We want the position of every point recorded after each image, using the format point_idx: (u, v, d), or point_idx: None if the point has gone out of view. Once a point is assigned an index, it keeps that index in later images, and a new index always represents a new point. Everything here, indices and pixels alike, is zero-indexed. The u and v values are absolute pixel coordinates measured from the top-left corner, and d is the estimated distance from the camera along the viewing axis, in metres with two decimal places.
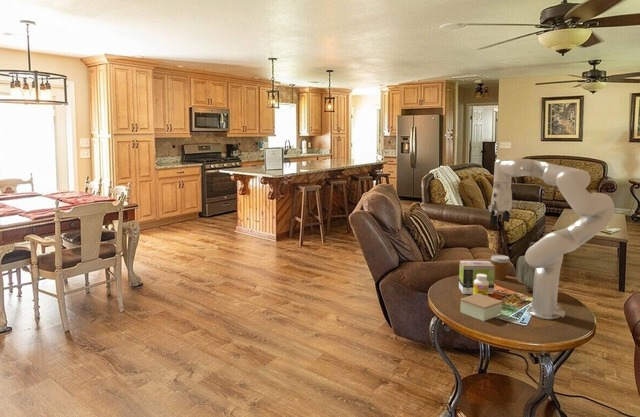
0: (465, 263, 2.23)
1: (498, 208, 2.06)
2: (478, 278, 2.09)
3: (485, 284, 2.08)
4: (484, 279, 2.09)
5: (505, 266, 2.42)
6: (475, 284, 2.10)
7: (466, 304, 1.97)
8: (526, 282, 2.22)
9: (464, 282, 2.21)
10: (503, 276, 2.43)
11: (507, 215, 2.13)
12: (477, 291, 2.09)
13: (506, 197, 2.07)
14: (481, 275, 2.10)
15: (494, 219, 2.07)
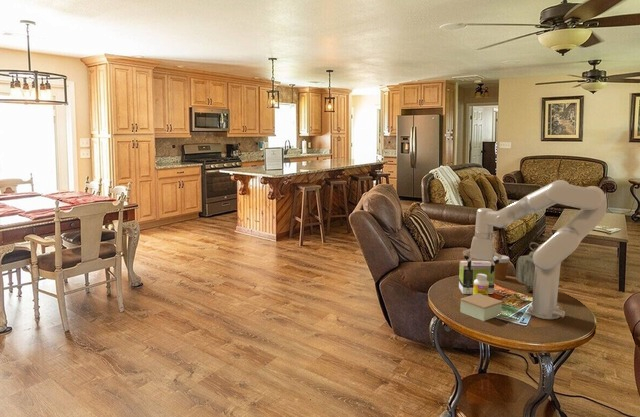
0: (465, 263, 2.23)
1: None
2: (478, 278, 2.09)
3: (485, 284, 2.08)
4: (484, 279, 2.09)
5: (505, 266, 2.42)
6: (475, 284, 2.10)
7: (466, 304, 1.97)
8: (526, 282, 2.22)
9: (464, 282, 2.21)
10: (503, 276, 2.43)
11: None
12: (477, 291, 2.09)
13: None
14: (481, 275, 2.10)
15: None
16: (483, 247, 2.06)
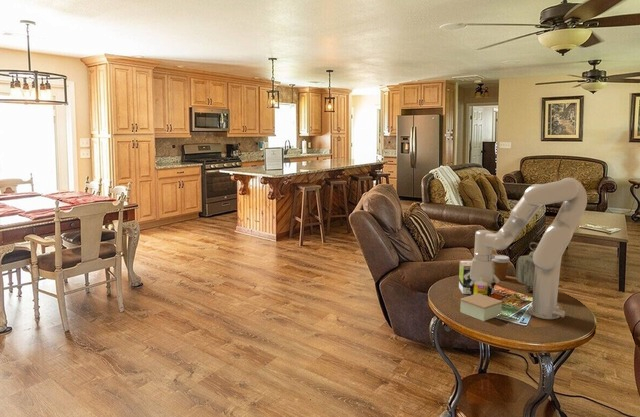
0: (465, 263, 2.23)
1: None
2: None
3: (485, 284, 2.08)
4: None
5: (505, 266, 2.42)
6: (475, 284, 2.10)
7: (466, 304, 1.97)
8: (526, 282, 2.22)
9: (464, 282, 2.21)
10: (503, 276, 2.43)
11: None
12: (477, 291, 2.09)
13: None
14: None
15: None
16: (483, 269, 2.08)
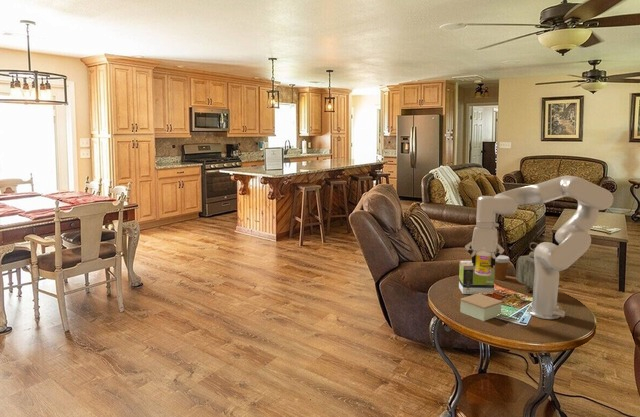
0: (465, 263, 2.23)
1: None
2: None
3: (488, 254, 1.91)
4: None
5: (505, 266, 2.42)
6: (477, 255, 1.93)
7: (466, 304, 1.97)
8: (526, 282, 2.22)
9: (464, 282, 2.21)
10: (503, 276, 2.43)
11: (475, 257, 1.97)
12: (479, 262, 1.93)
13: None
14: None
15: None
16: (486, 238, 1.91)
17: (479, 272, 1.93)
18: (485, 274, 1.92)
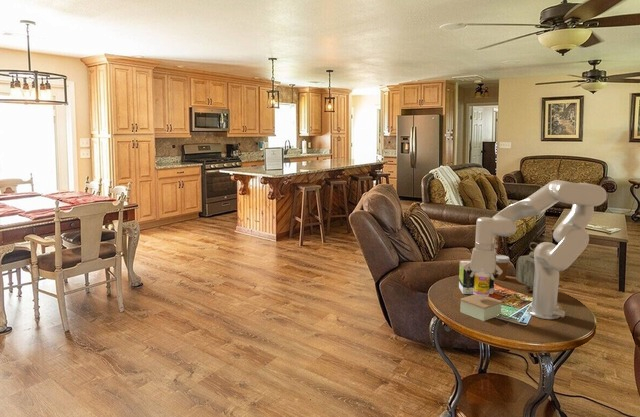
0: (465, 263, 2.23)
1: None
2: None
3: (487, 275, 1.93)
4: None
5: (505, 266, 2.42)
6: (476, 275, 1.95)
7: (466, 304, 1.97)
8: (526, 282, 2.22)
9: (464, 282, 2.21)
10: (503, 276, 2.43)
11: None
12: (478, 283, 1.94)
13: None
14: None
15: None
16: (484, 259, 1.92)
17: (477, 293, 1.95)
18: (483, 295, 1.94)
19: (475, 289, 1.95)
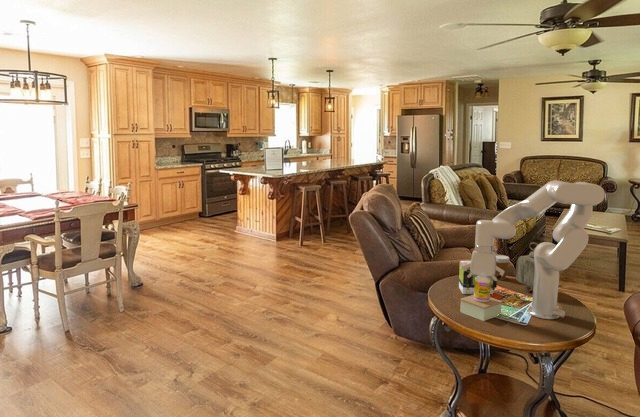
0: (465, 263, 2.23)
1: None
2: (480, 275, 1.94)
3: (487, 281, 1.93)
4: (486, 276, 1.94)
5: (505, 266, 2.42)
6: (476, 281, 1.95)
7: (466, 304, 1.97)
8: (526, 282, 2.22)
9: (464, 282, 2.21)
10: (503, 276, 2.43)
11: (471, 278, 1.99)
12: (479, 288, 1.94)
13: None
14: None
15: None
16: (484, 262, 1.92)
17: (478, 299, 1.95)
18: (484, 300, 1.94)
19: (476, 295, 1.96)
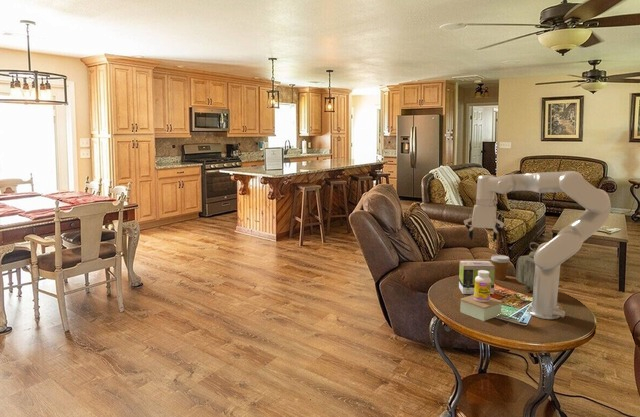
0: (465, 263, 2.23)
1: None
2: (480, 275, 1.94)
3: (487, 281, 1.93)
4: (486, 276, 1.93)
5: (505, 266, 2.42)
6: (476, 281, 1.95)
7: (466, 304, 1.97)
8: (526, 282, 2.22)
9: (464, 282, 2.21)
10: (503, 276, 2.43)
11: None
12: (479, 288, 1.94)
13: None
14: (483, 271, 1.95)
15: None
16: (485, 215, 2.02)
17: (478, 299, 1.95)
18: (484, 300, 1.94)
19: (476, 295, 1.96)
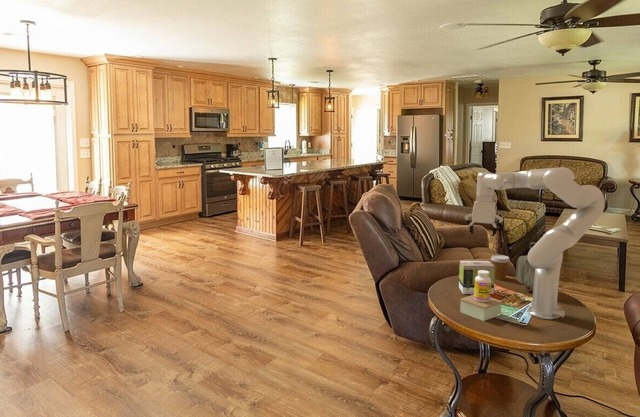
0: (465, 263, 2.23)
1: None
2: (480, 275, 1.94)
3: (487, 281, 1.93)
4: (486, 276, 1.93)
5: (505, 266, 2.42)
6: (476, 281, 1.95)
7: (466, 304, 1.97)
8: (526, 282, 2.22)
9: (464, 282, 2.21)
10: (503, 276, 2.43)
11: (473, 227, 2.17)
12: (479, 288, 1.94)
13: None
14: (483, 271, 1.95)
15: None
16: (485, 210, 2.11)
17: (478, 299, 1.95)
18: (484, 300, 1.94)
19: (476, 295, 1.96)
